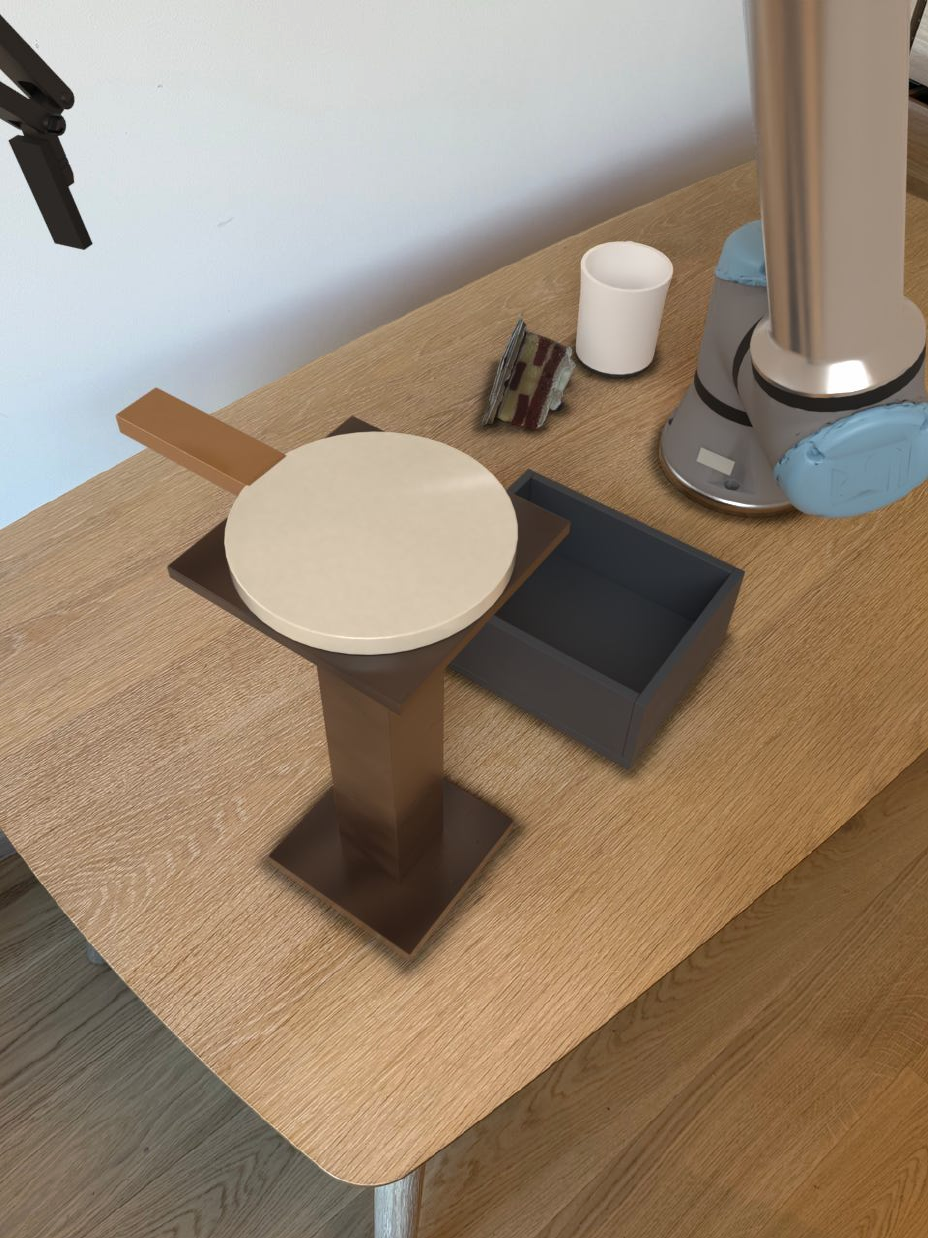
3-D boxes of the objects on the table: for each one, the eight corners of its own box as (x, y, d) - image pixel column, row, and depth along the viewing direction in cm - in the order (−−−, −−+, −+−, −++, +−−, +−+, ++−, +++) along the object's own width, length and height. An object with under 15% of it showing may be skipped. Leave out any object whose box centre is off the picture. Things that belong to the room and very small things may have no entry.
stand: (249, 867, 75) (166, 566, 52) (376, 730, 83) (352, 414, 60) (413, 984, 70) (400, 706, 47) (532, 826, 77) (571, 521, 55)
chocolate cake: (551, 452, 104) (597, 330, 103) (481, 425, 103) (527, 302, 102) (538, 453, 113) (580, 342, 112) (474, 428, 113) (516, 316, 111)
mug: (654, 386, 110) (670, 296, 102) (566, 375, 111) (576, 286, 103) (660, 324, 117) (676, 235, 109) (578, 314, 118) (587, 226, 110)
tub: (415, 649, 88) (413, 581, 82) (522, 536, 96) (528, 467, 90) (629, 771, 81) (644, 707, 74) (724, 638, 89) (745, 571, 83)
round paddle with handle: (38, 489, 56) (31, 471, 55) (229, 355, 63) (226, 337, 62) (400, 706, 47) (399, 689, 46) (571, 521, 55) (573, 503, 54)
